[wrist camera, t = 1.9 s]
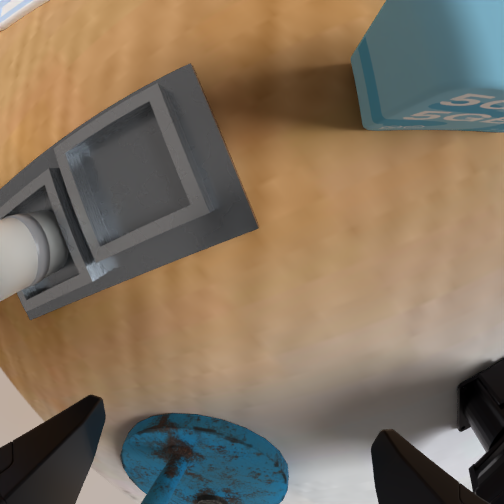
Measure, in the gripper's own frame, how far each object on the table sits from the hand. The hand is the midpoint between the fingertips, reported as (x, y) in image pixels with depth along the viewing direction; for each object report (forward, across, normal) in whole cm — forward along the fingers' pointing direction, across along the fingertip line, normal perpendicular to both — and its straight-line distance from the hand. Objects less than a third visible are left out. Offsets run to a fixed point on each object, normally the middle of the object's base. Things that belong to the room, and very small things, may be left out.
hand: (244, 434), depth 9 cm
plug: (+13, +15, 0) cm, 20 cm away
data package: (+12, -10, -14) cm, 21 cm away
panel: (+14, +12, -3) cm, 18 cm away
